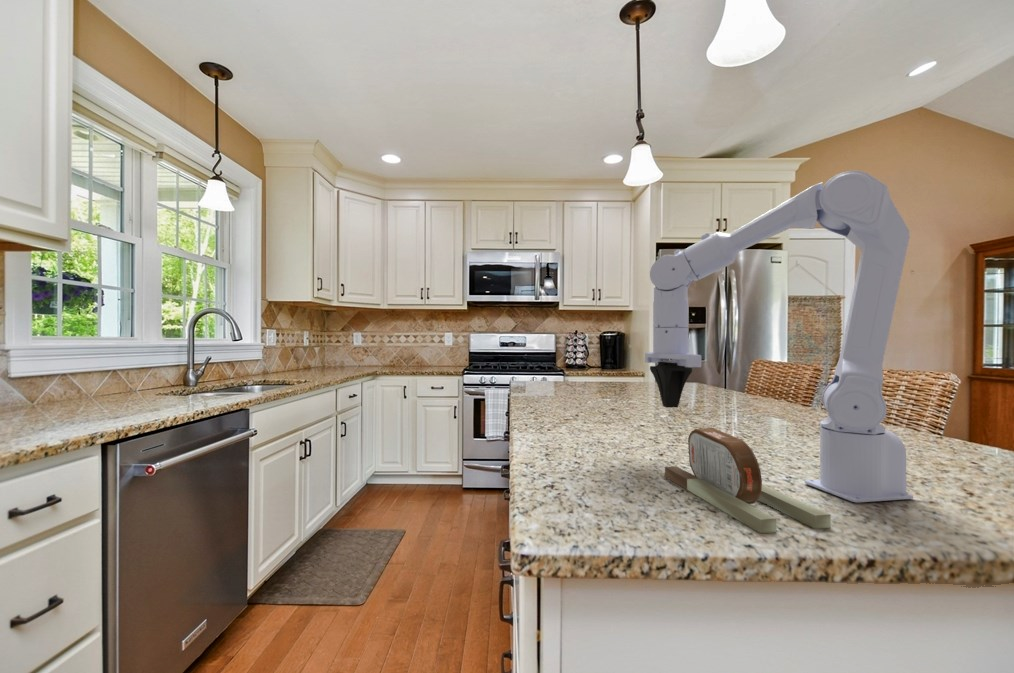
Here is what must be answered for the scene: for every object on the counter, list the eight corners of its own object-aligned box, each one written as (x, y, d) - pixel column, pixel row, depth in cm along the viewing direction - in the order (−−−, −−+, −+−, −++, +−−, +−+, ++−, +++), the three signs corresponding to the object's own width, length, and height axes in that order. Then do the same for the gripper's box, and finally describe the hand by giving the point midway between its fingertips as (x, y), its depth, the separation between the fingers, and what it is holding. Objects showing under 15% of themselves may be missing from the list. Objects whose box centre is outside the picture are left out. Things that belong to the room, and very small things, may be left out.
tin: (764, 514, 53) (764, 445, 53) (739, 514, 53) (739, 446, 53) (703, 475, 68) (704, 422, 68) (684, 475, 68) (684, 422, 68)
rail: (716, 473, 69) (716, 464, 69) (830, 527, 49) (830, 514, 49) (664, 476, 67) (664, 466, 67) (760, 533, 47) (760, 519, 47)
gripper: (630, 328, 81) (629, 401, 80) (672, 326, 66) (672, 414, 66) (664, 329, 82) (664, 400, 82) (713, 326, 67) (713, 413, 67)
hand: (670, 406), depth 74 cm, fingers closed
